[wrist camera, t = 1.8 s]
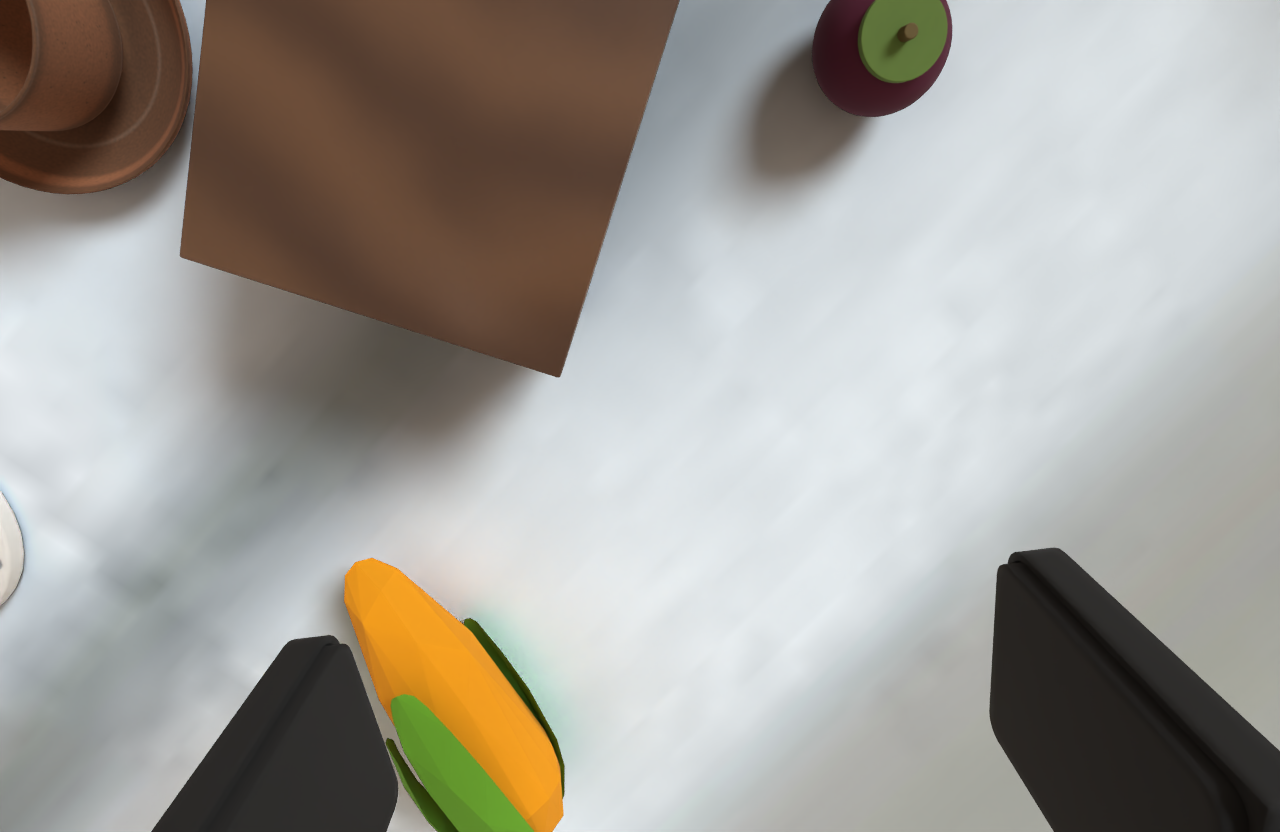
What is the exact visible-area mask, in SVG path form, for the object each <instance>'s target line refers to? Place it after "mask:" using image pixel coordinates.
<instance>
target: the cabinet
mask: <svg viewBox="0 0 1280 832" xmlns="http://www.w3.org/2000/svg"><path fill="white" fill-rule="evenodd" d="M679 1H680V0H206V8H205V18H204V27H203V37H202V46H201V56H200V66H199V75H198V85H197V94H196V104H195V114H194V123H193V133H192V142H191V152H190V161H189V171H188V181H187V190H186V200H185V209H184V219H183V229H182V238H181V248H180V257H182V258H184V259H188V260H191V261H194V262H197V263H200V264H203V265H206V266H210V267H213V268H216V269H219V270H222V271H225V272H228V273H231V274H235V275H238V276H241V277H244V278H247V279H250V280H253V281H257V282H260V283H263V284H266V285H269V286H272V287H275V288H279V289H282V290H285V291H288V292H291V293H294V294H297V295H301V296H304V297H307V298H310V299H313V300H316V301H319V302H322V303H326V304H329V305H332V306H335V307H338V308H341V309H344V310H348V311H351V312H354V313H357V314H360V315H363V316H366V317H370V318H373V319H376V320H379V321H382V322H385V323H388V324H392V325H395V326H398V327H401V328H404V329H407V330H410V331H413V332H417V333H420V334H423V335H426V336H429V337H432V338H435V339H439V340H442V341H445V342H448V343H451V344H454V345H457V346H461V347H464V348H467V349H470V350H473V351H476V352H479V353H483V354H486V355H489V356H492V357H495V358H498V359H501V360H504V361H508V362H511V363H514V364H517V365H520V366H523V367H526V368H530V369H533V370H536V371H539V372H542V373H545V374H548V375H552V376H555V377H560V376H561V373H562V370H563V367H564V364H565V361H566V358H567V355H568V352H569V348H570V345H571V342H572V339H573V336H574V333H575V330H576V327H577V324H578V321H579V317H580V314H581V311H582V308H583V305H584V302H585V299H586V295H587V292H588V289H589V286H590V283H591V280H592V276H593V273H594V270H595V267H596V264H597V261H598V257H599V254H600V251H601V248H602V245H603V241H604V238H605V235H606V232H607V229H608V226H609V222H610V219H611V216H612V213H613V210H614V207H615V203H616V200H617V197H618V194H619V191H620V188H621V184H622V181H623V178H624V175H625V172H626V169H627V165H628V162H629V159H630V156H631V153H632V150H633V146H634V143H635V140H636V137H637V134H638V131H639V127H640V124H641V121H642V118H643V115H644V112H645V108H646V105H647V102H648V99H649V96H650V93H651V89H652V86H653V83H654V80H655V77H656V74H657V70H658V67H659V64H660V61H661V58H662V55H663V51H664V48H665V45H666V42H667V39H668V36H669V32H670V29H671V26H672V23H673V20H674V17H675V13H676V10H677V7H678V4H679Z"/></svg>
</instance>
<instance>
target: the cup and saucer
mask: <svg viewBox="0 0 1280 832" xmlns="http://www.w3.org/2000/svg"><path fill="white" fill-rule="evenodd" d="M191 87H192V52H191V45H190V37H189V33H188V28H187V24H186V19H185V16H184V13H183V10H182V7H181V3H180V1H179V0H0V178H2V179H5V180H7V181H9V182H12V183H15V184H18V185H20V186H23V187H27V188H31V189H34V190H38V191H44V192H50V193H59V194H85V193H93V192H98V191H102V190H107V189H110V188H113V187H116V186H118V185H121V184H124V183H126V182H128V181H130V180H132V179H134V178H136V177H138V176H139V175H141V174H142V173H143V172H145V171H146V170H148V169H149V168H150V167H151V166H153V165H154V164H155V163H156V162H157V161H158V160H159V159H160V158H161V157H162V156H163V155H164V153H165V152H166V151H167V150H168V148H169V147H170V146H171V144H172V143H173V141H174V140H175V138H176V136H177V134H178V132H179V130H180V128H181V126H182V123H183V121H184V118H185V115H186V112H187V108H188V104H189V100H190V93H191Z"/></svg>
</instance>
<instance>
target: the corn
mask: <svg viewBox="0 0 1280 832" xmlns="http://www.w3.org/2000/svg"><path fill="white" fill-rule="evenodd" d="M344 602H345V605H346V608H347V610H348V613H349V616H350V619H351V622H352V625H353V627H354V630H355V633H356V636H357V639H358V642H359V644H360V647H361V650H362V653H363V656H364V659H365V661H366V664H367V667H368V670H369V673H370V676H371V678H372V681H373V684H374V687H375V690H376V693H377V695H378V698H379V701H380V702H381V704H382V706H383V708H384V709H385V711H386V713H387V714H388V716H389V718H390V720H391V721H392V723H393V725H394V726H395V728H396V731H397V733H398V736H399V739H400V742H401V745H402V748H403V751H404V753H405V755H406V756H407V758H408V760H409V761H410V763H411V765H412V766H413V768H414V770H415V771H416V773H417V775H418V776H419V778H420V780H421V781H422V783H423V784H424V786H425V788H426V789H427V790H426V789H425V788H424V787H423V786H422V785H421V784H420V783H419V782H418V781H417V779H416V778H415V776H414V775H413V773H412V772H411V770H410V769H409V767H408V765H407V764H406V762H405V761H404V759H403V758H402V756H401V755H400V753H399V751H398V749H397V747H396V745H395V743H394V741H393V740H392V739H389V738H387V740H386V745H387V748H388V750H389V753H390V755H391V757H392V760H393V762H394V764H395V767H396V769H397V772H398V774H399V776H400V779H401V781H402V783H403V786H404V788H405V789H406V791H407V792H408V794H409V795H410V797H411V798H412V799H413V801H414V802H415V804H416V805H417V807H418V808H419V810H420V811H421V813H422V814H423V815H424V817H425V818H426V820H427V821H428V823H429V824H430V825H431V826H432V827H433V828H434V829H435V830H436V831H437V832H552V831H553V830H554V828H555V827H556V825H557V824H558V823H559V821H560V820H561V818H562V817H563V801H562V799H563V797H564V763H563V759H562V756H561V752H560V749H559V745H558V742H557V739H556V737H555V735H554V734H553V732H552V730H551V728H550V726H549V724H548V723H547V721H546V719H545V717H544V715H543V714H542V712H541V710H540V708H539V706H538V705H537V703H536V701H535V699H534V697H533V696H532V694H531V692H530V690H529V688H528V687H527V686H526V684H525V683H524V682H523V680H522V679H521V678H520V676H519V675H518V673H517V672H516V671H515V669H514V668H513V667H512V665H511V664H510V662H509V661H508V660H507V658H506V657H505V656H504V654H503V653H502V652H501V650H500V649H499V648H498V647H497V646H496V644H495V643H494V642H493V641H492V640H491V638H490V637H489V636H488V635H487V634H486V632H485V631H484V630H483V629H482V628H481V626H480V625H479V624H478V623H477V622H476V621H474V620H473V619H471V618H469V619H465V620H464V625H463V624H462V623H461V622H459V621H458V620H457V619H456V618H455V617H454V616H452V615H451V614H450V613H449V612H448V611H447V610H445V609H444V608H443V607H442V606H441V605H440V604H438V603H437V602H436V601H435V600H434V599H433V598H431V597H430V596H429V595H428V594H427V593H425V592H424V591H423V590H422V589H421V588H420V587H418V586H417V585H416V584H415V583H414V582H413V581H411V580H410V579H409V578H408V577H407V576H406V575H404V574H403V573H402V572H401V571H400V570H399V569H397V568H395V567H393V566H390V565H388V564H386V563H383V562H381V561H378V560H376V559H374V558H370V559H366V560H362V561H358V562H355V563H354V565H353V566H352V567H351V569H350V570H349V571H348V572H347V574H346V575H345V593H344Z"/></svg>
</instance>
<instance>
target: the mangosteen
mask: <svg viewBox="0 0 1280 832" xmlns="http://www.w3.org/2000/svg"><path fill="white" fill-rule="evenodd" d="M951 40H952V19H951V14H950V9H949V7H948V4H947V1H946V0H830V2H829V3H828V4H827V6H826V8H825V9H824V11H823V13H822V15H821V17H820V19H819V21H818V24H817V27H816V30H815V34H814V39H813V46H812V62H813V69H814V73H815V76H816V79H817V81H818V84H819V86H820V88H821V89H822V91H823V93H824V94H825V95H826V96H827V97H828V99H829V100H830V101H831V102H833V103H834V104H835V105H836V106H838V107H839V108H841V109H842V110H844V111H846V112H848V113H851V114H854V115H857V116H864V117H878V116H885V115H888V114H892V113H895V112H897V111H900V110H902V109H904V108H906V107H908V106H909V105H911V104H912V103H914V102H915V101H916V100H918V99H919V98H920V97H921V96H922V95H923V94H924V93H926V92H927V91H928V90H929V88H930V87H931V86H932V85H933V83H934V82H935V81H936V79H937V78H938V76H939V75H940V73H941V71H942V69H943V67H944V65H945V62H946V60H947V57H948V54H949V50H950V47H951Z"/></svg>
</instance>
